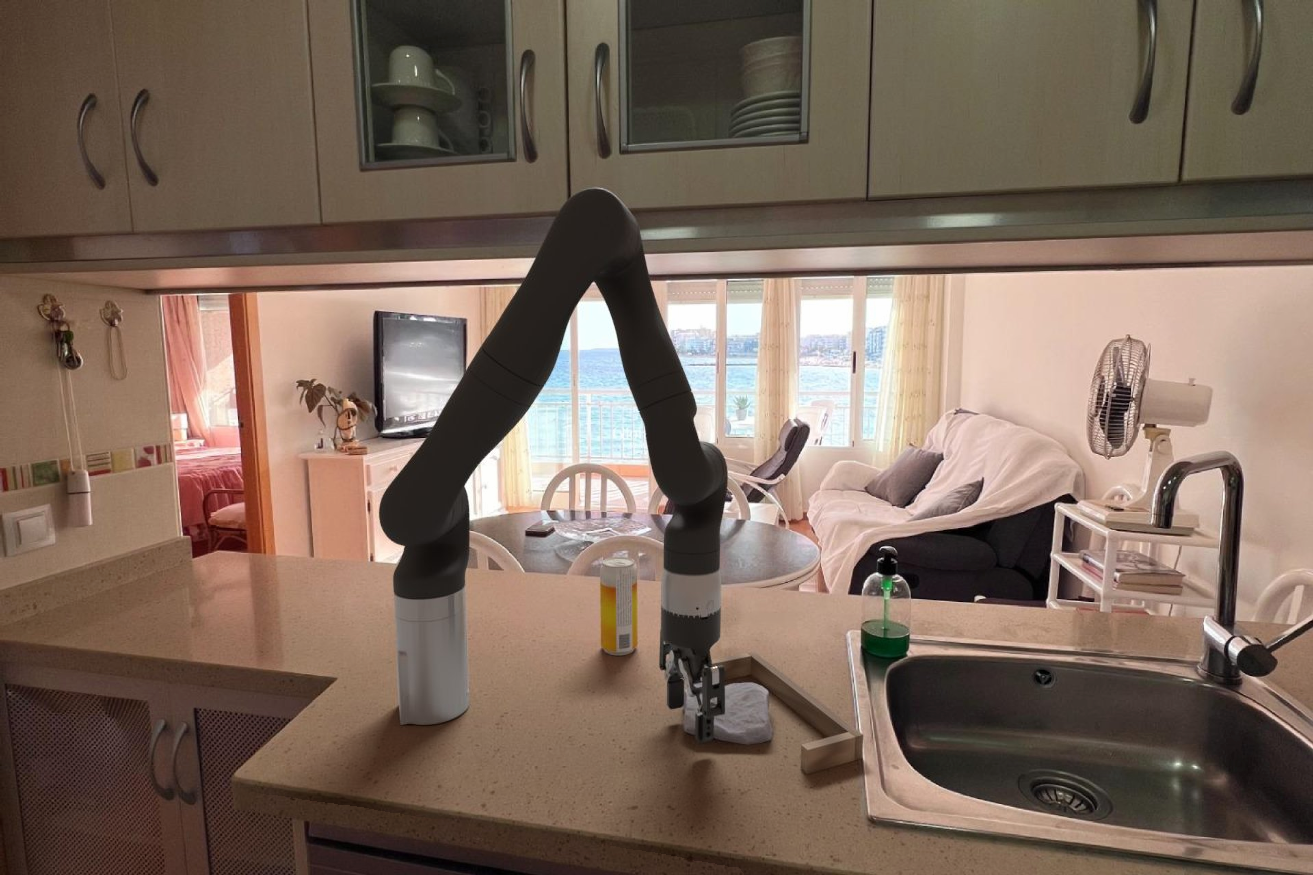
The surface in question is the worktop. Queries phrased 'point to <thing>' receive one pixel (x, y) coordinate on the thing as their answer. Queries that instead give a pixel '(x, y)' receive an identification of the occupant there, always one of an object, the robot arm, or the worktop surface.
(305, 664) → the worktop surface
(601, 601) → the beer can
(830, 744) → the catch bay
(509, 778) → the worktop surface
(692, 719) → the stone block
